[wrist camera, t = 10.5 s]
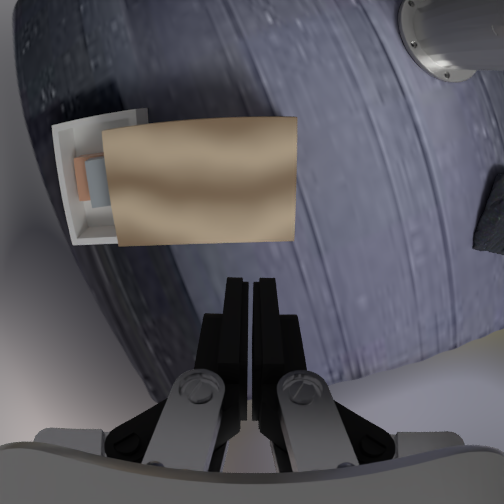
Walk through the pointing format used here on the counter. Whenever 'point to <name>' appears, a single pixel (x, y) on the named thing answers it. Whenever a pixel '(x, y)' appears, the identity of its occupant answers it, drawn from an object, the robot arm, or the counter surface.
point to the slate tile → (97, 182)
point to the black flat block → (492, 221)
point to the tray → (66, 149)
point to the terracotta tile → (83, 175)
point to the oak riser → (203, 180)
